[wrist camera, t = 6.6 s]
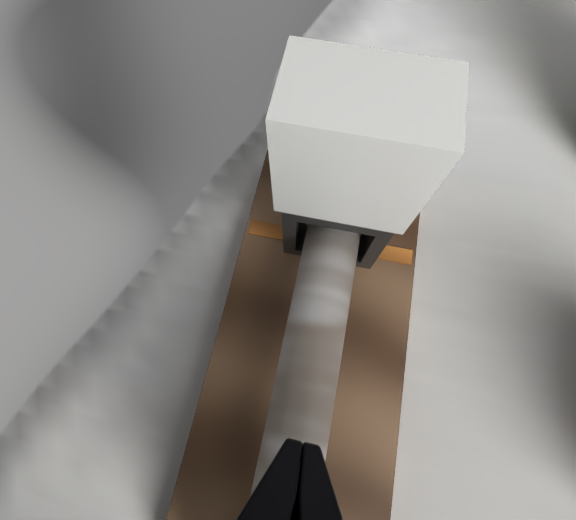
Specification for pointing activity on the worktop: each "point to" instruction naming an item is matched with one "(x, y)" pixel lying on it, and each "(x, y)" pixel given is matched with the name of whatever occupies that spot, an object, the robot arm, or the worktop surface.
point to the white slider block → (361, 139)
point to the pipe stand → (302, 368)
